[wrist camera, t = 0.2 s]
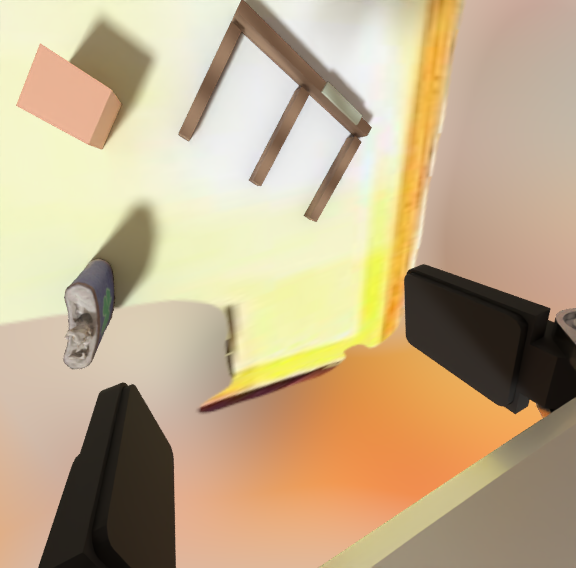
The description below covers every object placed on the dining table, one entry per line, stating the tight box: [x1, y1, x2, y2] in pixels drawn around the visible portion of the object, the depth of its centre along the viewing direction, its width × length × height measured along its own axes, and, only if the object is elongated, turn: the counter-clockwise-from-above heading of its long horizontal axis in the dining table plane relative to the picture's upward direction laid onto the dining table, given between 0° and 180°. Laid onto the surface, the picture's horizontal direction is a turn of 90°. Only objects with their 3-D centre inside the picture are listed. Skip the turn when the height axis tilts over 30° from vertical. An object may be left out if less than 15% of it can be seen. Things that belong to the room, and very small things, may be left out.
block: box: [16, 44, 122, 149], centre depth 26 cm, size 5×5×6 cm
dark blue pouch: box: [64, 259, 115, 369], centre depth 30 cm, size 9×3×11 cm, turn 167°
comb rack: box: [178, 0, 372, 222], centre depth 34 cm, size 14×20×3 cm
